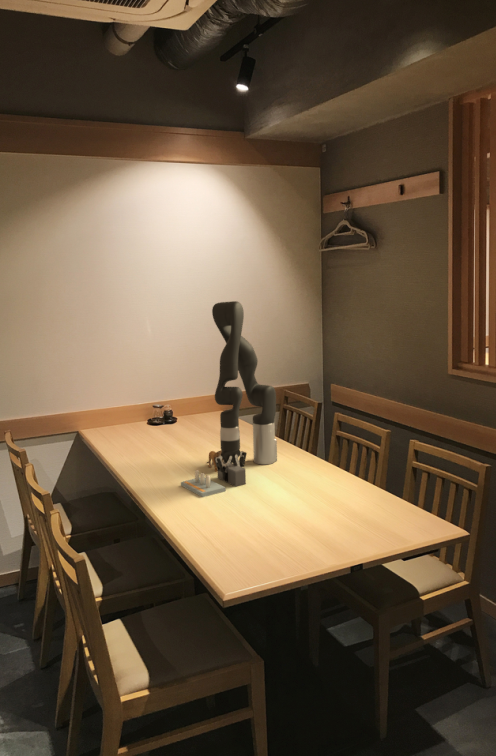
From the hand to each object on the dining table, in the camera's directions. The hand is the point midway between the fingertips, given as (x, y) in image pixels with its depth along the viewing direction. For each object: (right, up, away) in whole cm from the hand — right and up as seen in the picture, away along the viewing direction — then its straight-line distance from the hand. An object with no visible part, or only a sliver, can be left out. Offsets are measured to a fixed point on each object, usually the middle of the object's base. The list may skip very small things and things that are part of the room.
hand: (231, 479), depth 252 cm
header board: (-11, -2, -7) cm, 13 cm away
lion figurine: (-6, +2, +16) cm, 18 cm away
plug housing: (0, -1, 0) cm, 1 cm away
